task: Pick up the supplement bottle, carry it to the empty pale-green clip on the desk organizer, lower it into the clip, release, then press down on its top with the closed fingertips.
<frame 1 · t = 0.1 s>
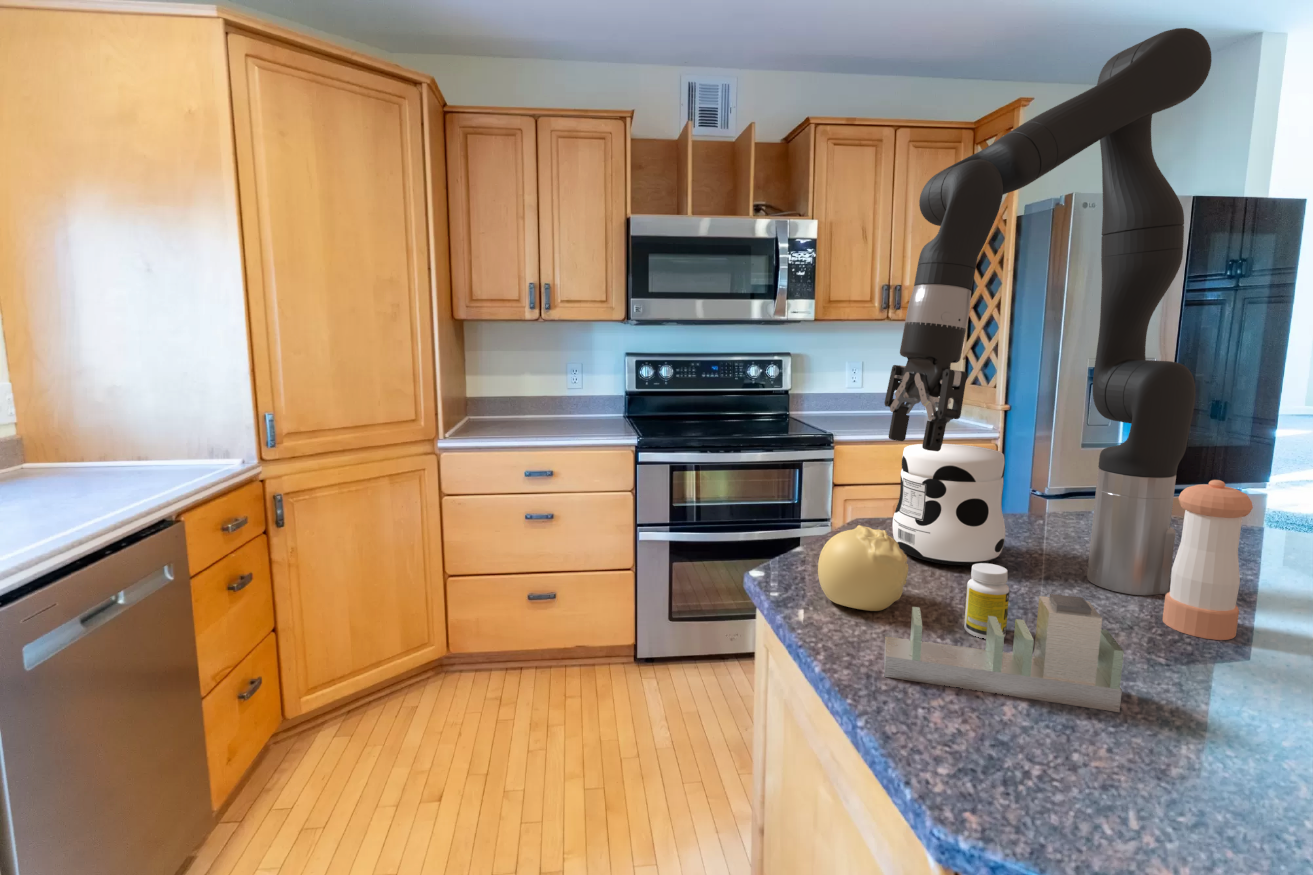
hand: (912, 445, 89), 22 cm above the countertop, tool pointing down, fingers open, 8 cm apart
milk container: (945, 556, 112), on the countertop
desk organizer: (992, 681, 71), on the countertop
supplement bottle: (984, 633, 83), on the countertop
salt shaker: (1197, 628, 84), on the countertop
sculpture: (860, 603, 93), on the countertop
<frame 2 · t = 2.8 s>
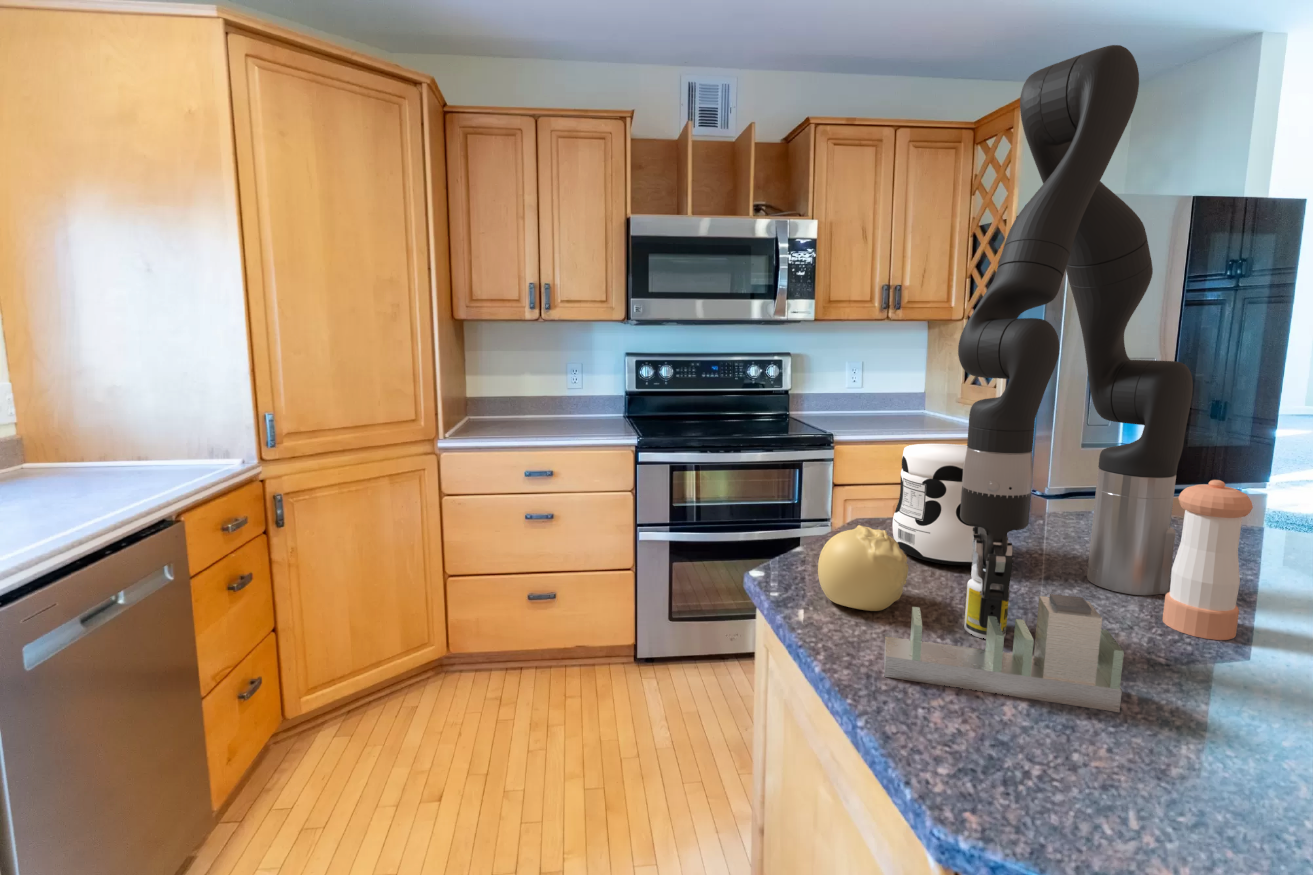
hand: (985, 617, 83), 2 cm above the countertop, tool pointing down, fingers closed on supplement bottle, 4 cm apart
supplement bottle: (984, 633, 83), on the countertop, touching gripper
everything else where it was.
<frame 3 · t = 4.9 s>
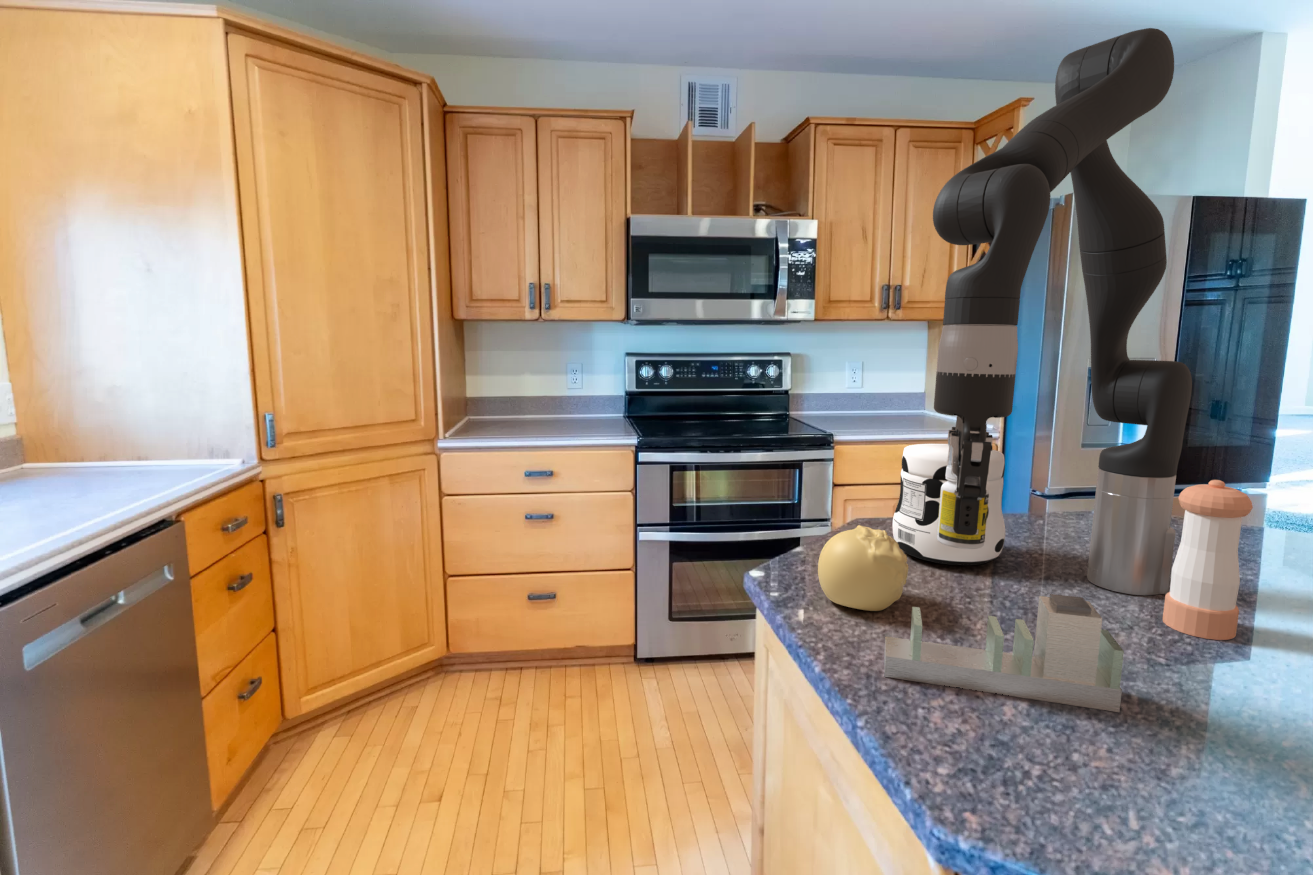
hand: (961, 526, 72), 16 cm above the countertop, tool pointing down, fingers closed on supplement bottle, 4 cm apart
supplement bottle: (959, 545, 72), point 14 cm above the countertop, touching gripper
everything else where it was.
when the fingers open (5 cm above the countertop, at t = 7.1 s): supplement bottle stays where it is, resting on desk organizer.
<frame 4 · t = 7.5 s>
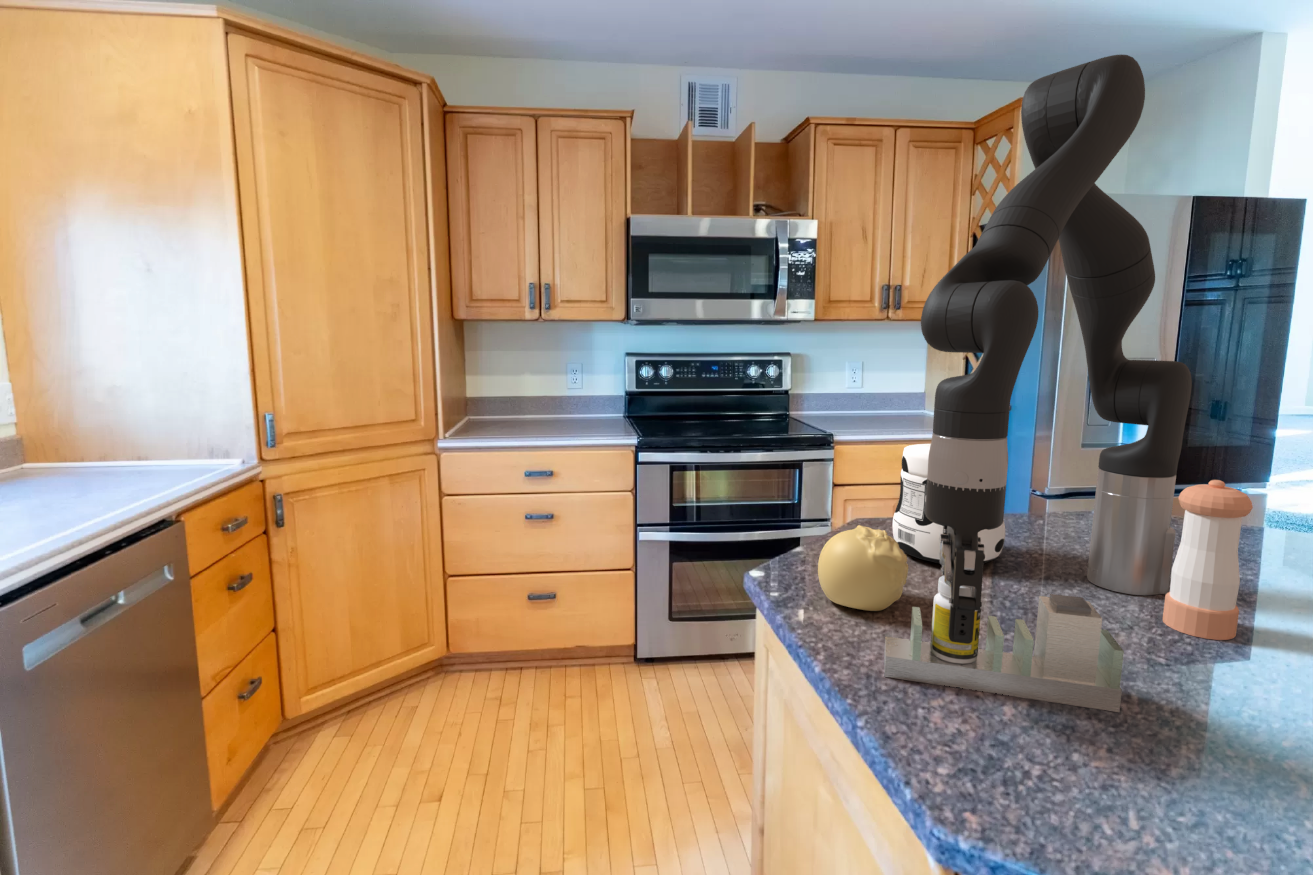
hand: (955, 624, 72), 6 cm above the countertop, tool pointing down, fingers open, 8 cm apart
supplement bottle: (953, 656, 72), point 2 cm above the countertop, touching desk organizer
everything else where it was.
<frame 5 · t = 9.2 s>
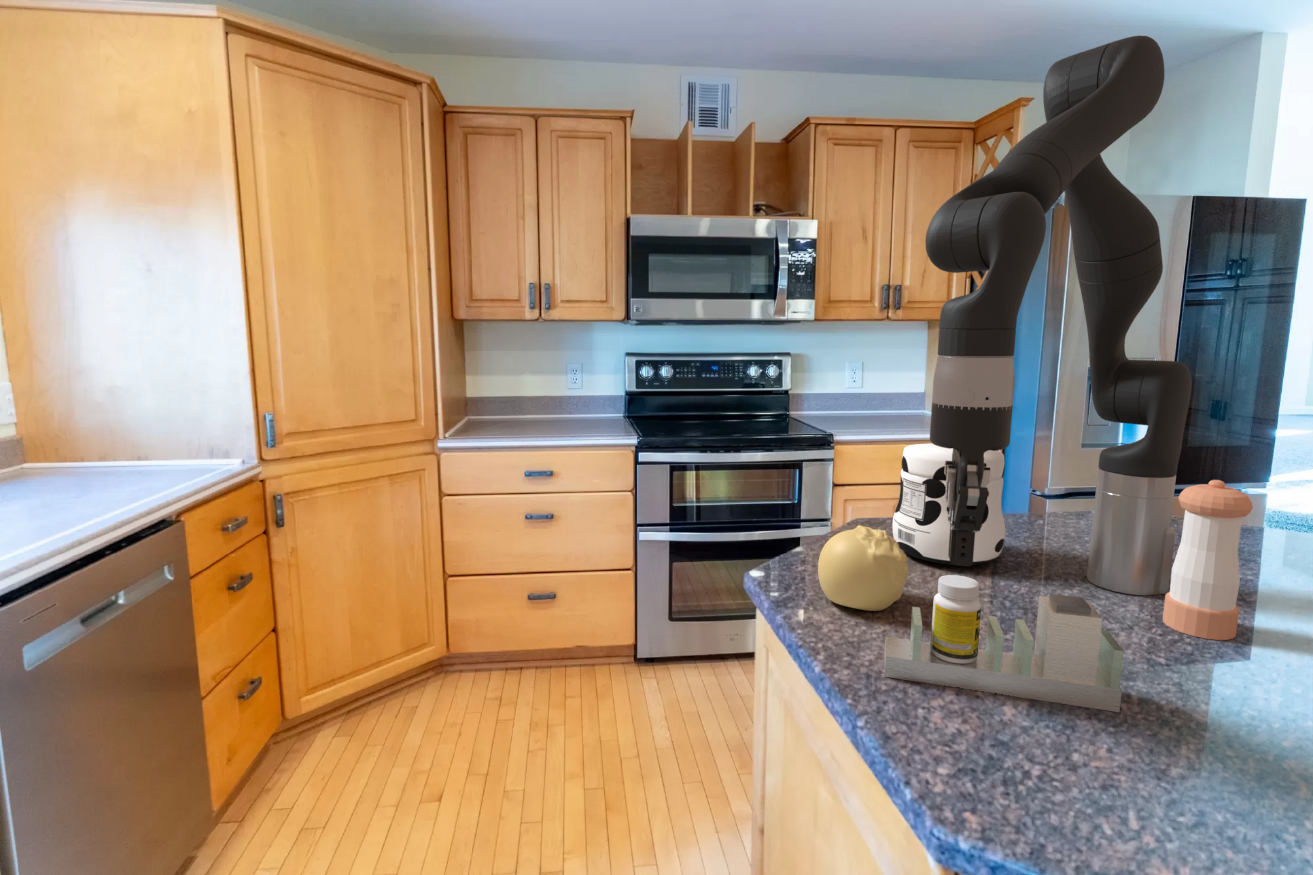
hand: (960, 562, 70), 13 cm above the countertop, tool pointing down, fingers closed
nothing on the countertop moved.
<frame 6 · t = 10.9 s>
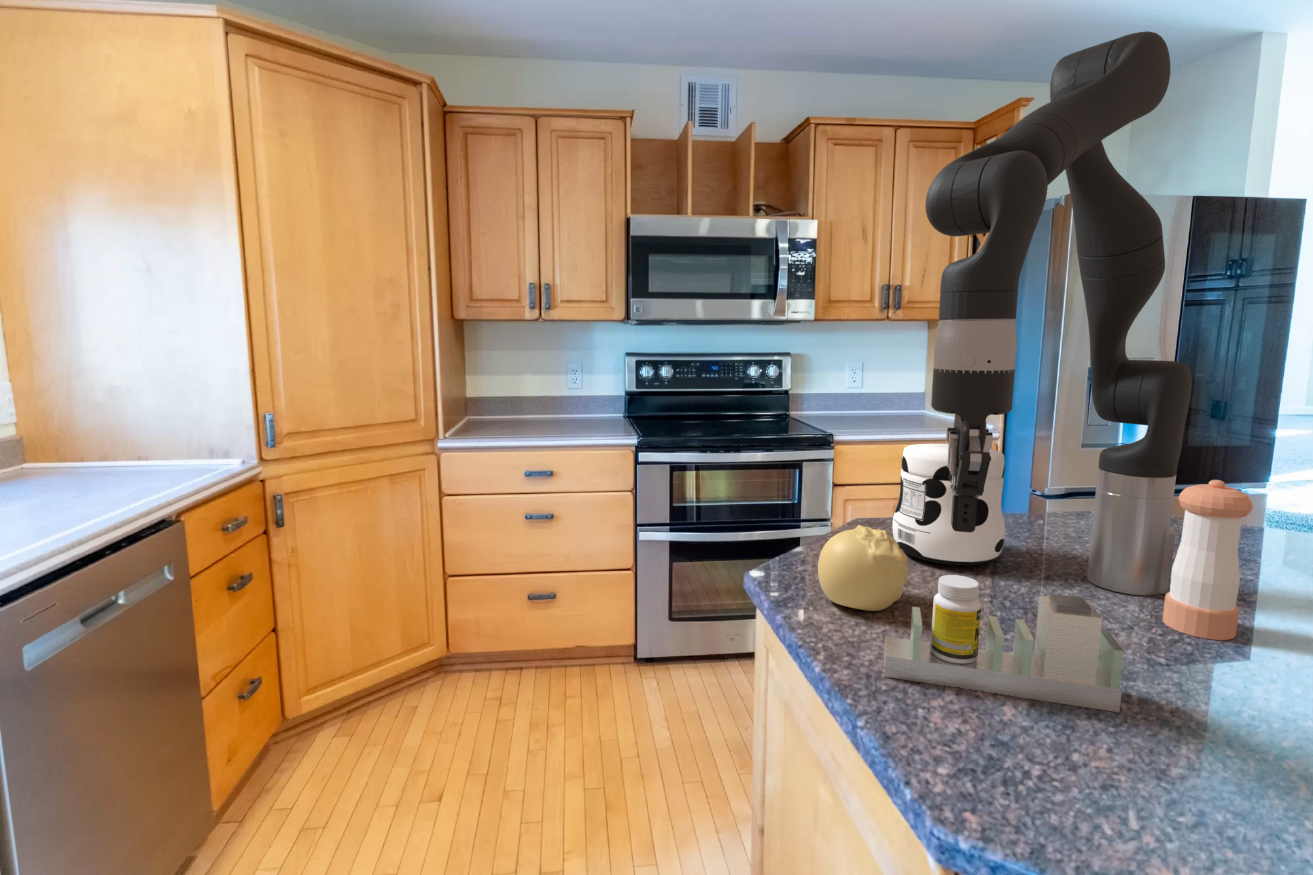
hand: (962, 529, 70), 17 cm above the countertop, tool pointing down, fingers closed
nothing on the countertop moved.
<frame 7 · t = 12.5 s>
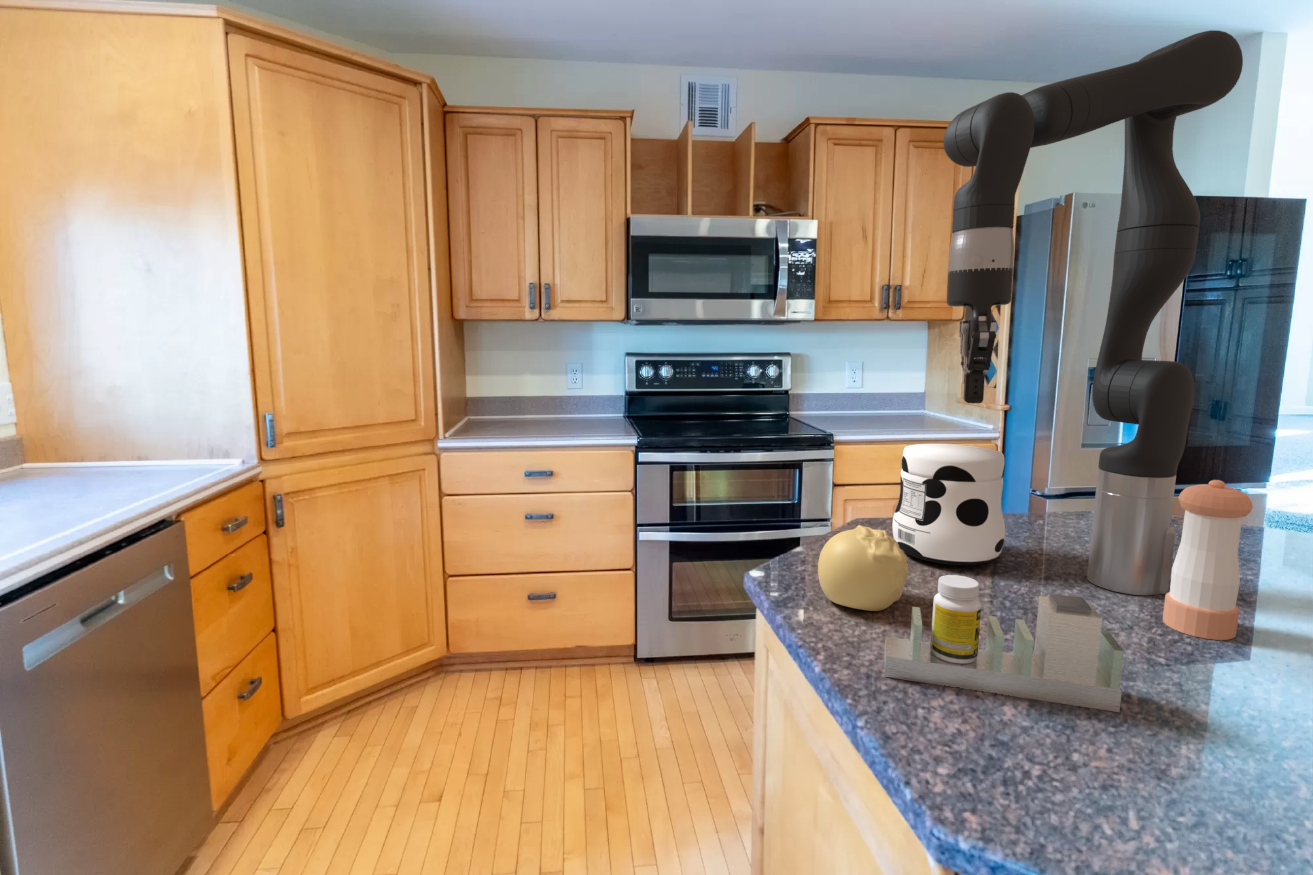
hand: (973, 402, 88), 28 cm above the countertop, tool pointing down, fingers closed
nothing on the countertop moved.
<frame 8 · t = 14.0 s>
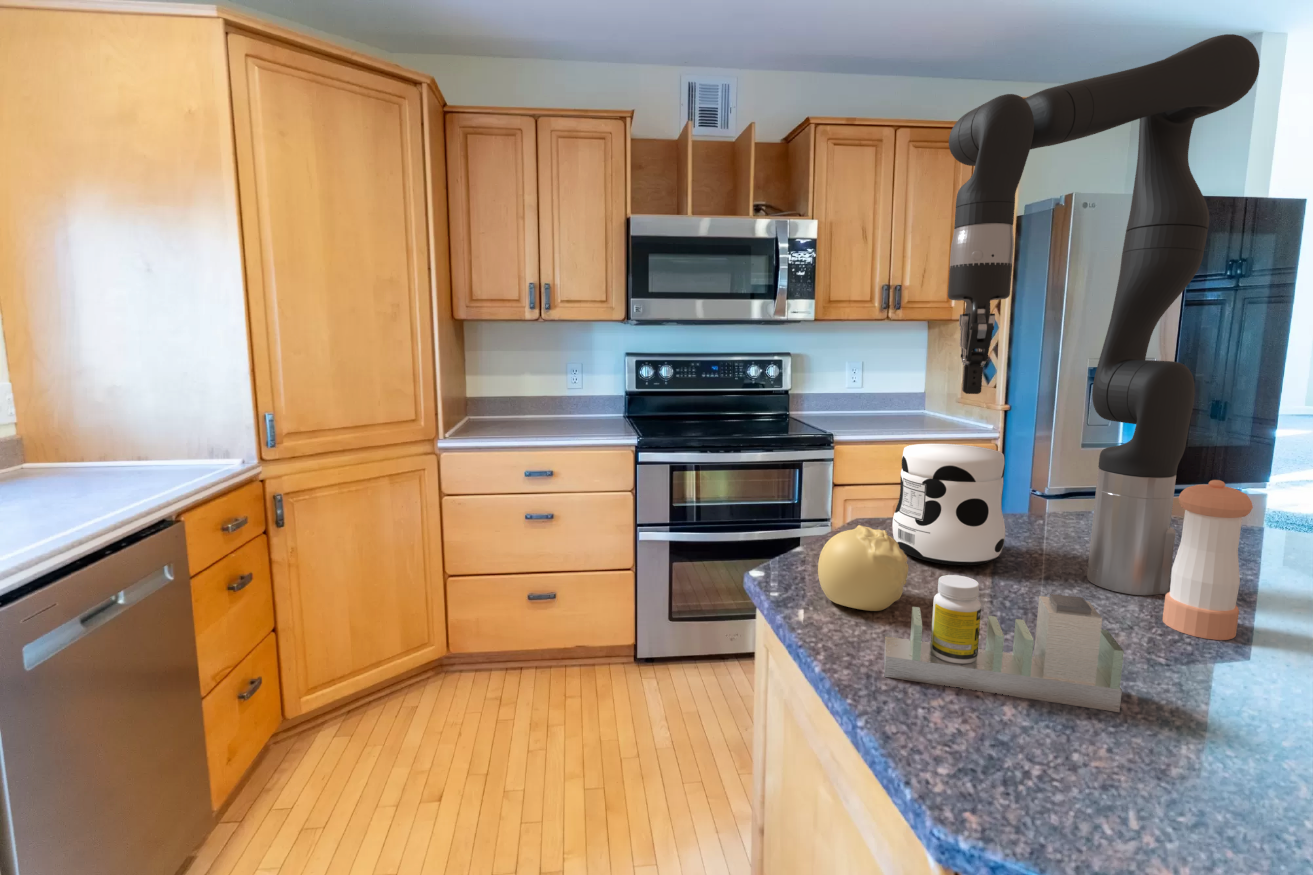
hand: (971, 393, 91), 29 cm above the countertop, tool pointing down, fingers closed
nothing on the countertop moved.
at the end: supplement bottle 0.2 cm from the target spot on the desk organizer, point 2.2 cm above the desk organizer's base; supplement bottle tilted 0°; the gripper is holding nothing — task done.
